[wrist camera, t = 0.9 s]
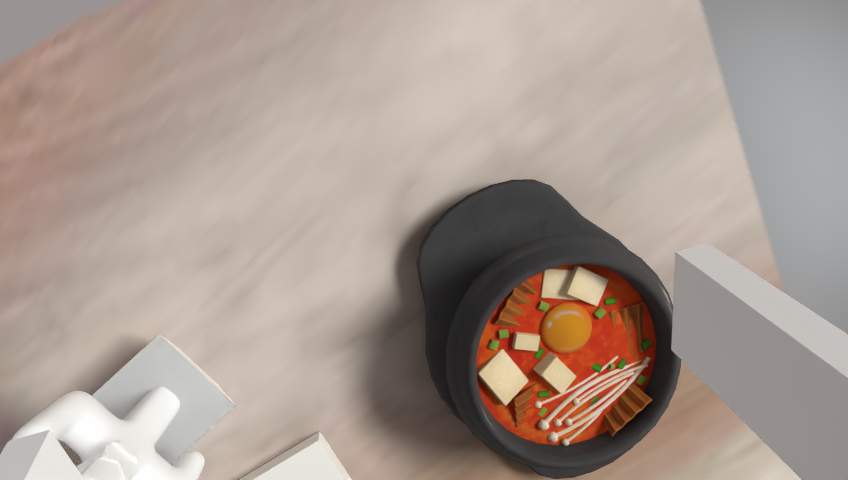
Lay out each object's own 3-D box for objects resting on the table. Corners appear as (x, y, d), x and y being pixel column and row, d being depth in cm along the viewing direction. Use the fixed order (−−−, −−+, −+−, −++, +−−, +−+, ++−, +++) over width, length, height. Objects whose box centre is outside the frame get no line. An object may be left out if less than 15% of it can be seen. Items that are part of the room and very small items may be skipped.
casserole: (695, 394, 48) (766, 442, 40) (508, 506, 47) (541, 579, 39) (566, 134, 43) (617, 127, 35) (358, 254, 43) (359, 276, 34)
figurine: (187, 458, 43) (100, 612, 28) (92, 374, 41) (-53, 492, 27) (256, 394, 43) (205, 516, 28) (164, 308, 41) (59, 390, 27)
